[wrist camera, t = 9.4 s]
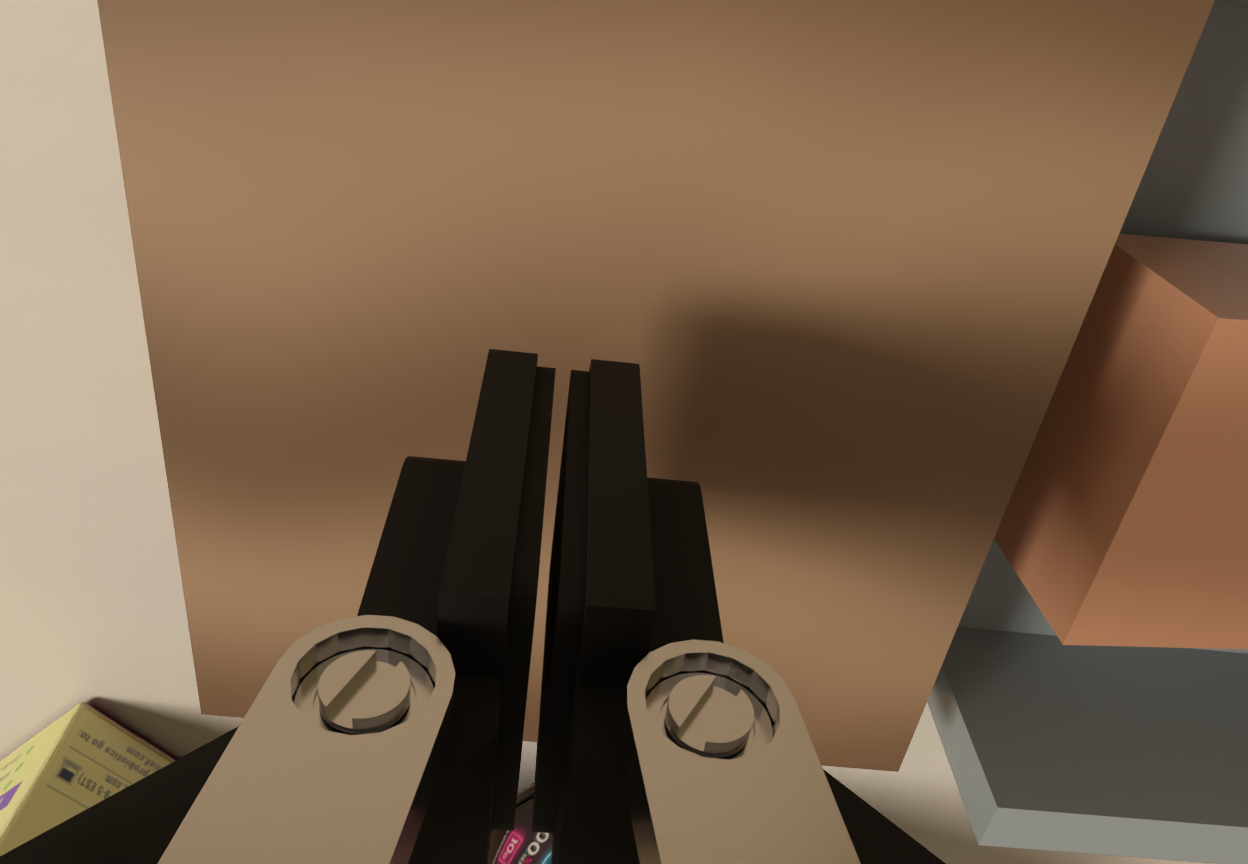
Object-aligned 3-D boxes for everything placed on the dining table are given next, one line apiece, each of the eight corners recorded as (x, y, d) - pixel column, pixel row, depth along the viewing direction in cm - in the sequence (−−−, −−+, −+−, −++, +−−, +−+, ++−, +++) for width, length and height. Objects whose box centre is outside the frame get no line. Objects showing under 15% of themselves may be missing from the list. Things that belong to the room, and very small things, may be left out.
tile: (1097, 231, 14) (1218, 318, 12) (1423, 259, 15) (1603, 346, 13) (984, 525, 17) (1063, 645, 15) (1262, 536, 18) (1382, 652, 15)
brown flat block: (213, -197, 13) (67, -210, 9) (1078, -71, 14) (1231, -41, 10) (274, 561, 20) (201, 714, 16) (851, 615, 20) (898, 771, 17)
